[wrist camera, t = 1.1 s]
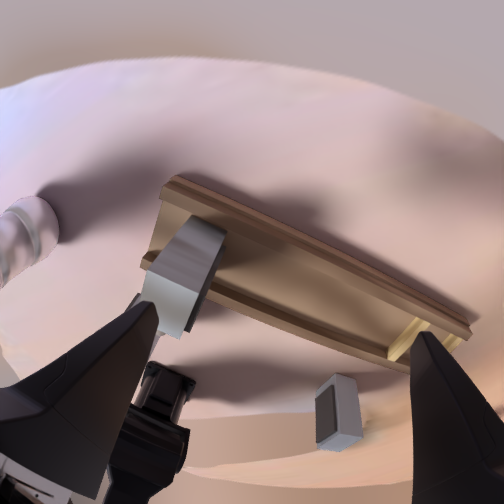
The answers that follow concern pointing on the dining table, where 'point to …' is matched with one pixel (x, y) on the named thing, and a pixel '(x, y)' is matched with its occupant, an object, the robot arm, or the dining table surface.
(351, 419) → the grey boxy piece
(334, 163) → the dining table surface
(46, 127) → the dining table surface
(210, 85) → the dining table surface
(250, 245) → the rail
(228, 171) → the dining table surface
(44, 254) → the plastic bottle
